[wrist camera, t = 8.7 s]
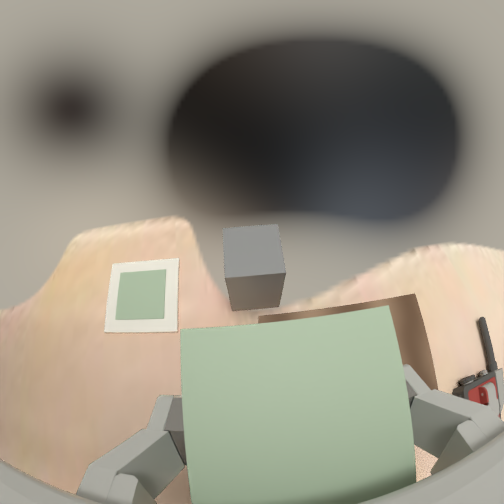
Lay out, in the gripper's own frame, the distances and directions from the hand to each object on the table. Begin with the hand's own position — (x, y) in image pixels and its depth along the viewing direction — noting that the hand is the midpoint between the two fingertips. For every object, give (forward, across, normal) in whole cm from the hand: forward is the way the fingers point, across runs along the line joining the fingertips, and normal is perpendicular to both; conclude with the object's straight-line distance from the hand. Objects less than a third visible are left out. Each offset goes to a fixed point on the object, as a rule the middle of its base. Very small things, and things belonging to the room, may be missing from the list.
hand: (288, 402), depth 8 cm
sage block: (+3, 0, +4) cm, 5 cm away
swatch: (+22, +14, +4) cm, 27 cm away
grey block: (+23, +1, +4) cm, 23 cm away
